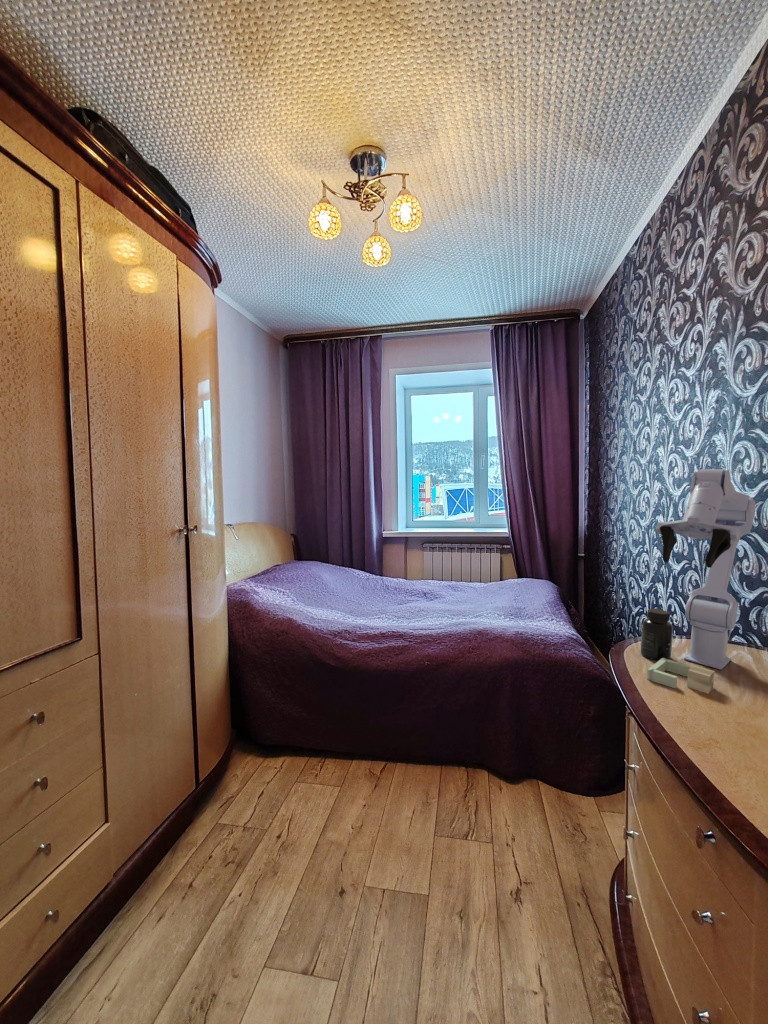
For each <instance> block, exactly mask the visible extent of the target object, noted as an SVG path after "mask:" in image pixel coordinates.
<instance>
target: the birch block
mask: <svg viewBox="0 0 768 1024" xmlns="http://www.w3.org/2000/svg"><path fill="white" fill-rule="evenodd" d="M715 674H716V673H715V670H711V669H709V668H705V667H701V666H698V665H696V664H695V665H694V664H693V665H692V666H691V667H689V670H688V676H687V679H686V681H687V682H686V687H687V688H689V689H692V690H695V691H698V692H701V693H704V694H708V695H709V693H711V691H712V690H713V689H714V683H715Z"/></svg>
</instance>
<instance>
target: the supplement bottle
mask: <svg viewBox="0 0 768 1024" xmlns="http://www.w3.org/2000/svg"><path fill="white" fill-rule="evenodd" d="M646 617H647V618H645V619H644V620H643V622H642V623H641V624H642V625H641V627H642V628H641V637H640V638H641V639H640V655H642V657H645V658H647V659H650V660H653V661H657V662H658V661H659V660H660V659H662V658H666V659H669V660H671V658H672V645H673V634H674V627H673V625H672V623H670V622H669V621H670V620H671V619H670V612H669V611H666V610H663V609H660V608H659V609H658V608H649V609H647V614H646Z"/></svg>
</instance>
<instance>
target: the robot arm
mask: <svg viewBox="0 0 768 1024" xmlns="http://www.w3.org/2000/svg"><path fill="white" fill-rule="evenodd" d="M731 478H732V477H731V471H730V469H728V470H727V469H723V468H721V469H720V468H719V469H716V468H715V469H713V468H712V469H709V468H704V469H702V468H701V469H698V470H697V471H696V470H695V471H694V472H693V473H692V478H691V486H690V490H689V493H690V496H689V500H688V503H687V505H686V509H685V512H684V515H683V517H682V519H680V520H678V519H677V520H672V521H665V522H659V521H658V522H657V525H656V526H655V530H656V533H657V535H660V536H661V541H662V560H663V561H664V563H668V562H669V561H670V559H671V555H672V551H673V549H674V547H675V545H676V544H677V542H678V541H677V538H676V535H680V536H683V537H687V538H691V539H697V540H708V539H710V545H709V547H708V550H707V553H706V557H705V565H706V568H708V572H707V576H706V580H705V584H704V586H702V587H698V588H696V589H693V590H692V591H691V593H690V594H689V598H688V599H687V601H686V605H685V611H684V615H685V618H686V620H687V621H688V622H689V623H690V626H691V635H690V648H689V652H688V653H687V654H686V655H684V657H683V660H685V661H689V662H692V663H695V664H700V665H703V666H706V667H710V668H714V669H717V670H723V669H724V668H725V667H726V666H727V664H728V663H729V662H730V661H731V660H732V659H731V657H729V656H727V653H728V652H727V651H728V643H729V642H728V639H729V633H728V631H731V630H733V629H735V626H736V622H737V618H738V617H737V615H738V607H739V606H738V601H737V599H736V598H735V597H734V596H733V595H732V594H731V593H729V592H728V588H729V587H728V586H729V583H730V577H731V573H732V569H733V565H734V559H735V555H736V551H737V546H738V544H739V541H740V540H741V538H742V537H743V536H746V535H748V534H750V532H751V530H752V529H753V523H754V519H755V514H756V500H755V499H754V498H751V497H750V495H749V494H746V493H742V492H738V491H736V490H735V487H734V484H733V483H732V482H731V480H732V479H731Z"/></svg>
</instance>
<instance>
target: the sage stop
mask: <svg viewBox="0 0 768 1024" xmlns="http://www.w3.org/2000/svg"><path fill="white" fill-rule="evenodd" d="M689 669H690V664H685V663H682V662H679V661H677V660H672V659H666V658H662V659H660V660H659V661H658V660H657V662H655V663H654V664H652V665H651V666H650V667H649V668H647V674H646V679H647V680H648V681H651V682H654V683H656V684H660V685H664V686H666V687H669V688H673V689H676V688H677V683H678V676H677V675H681V676H682V677H683V676H684V677H688V670H689ZM665 671H668V672H671V673H674V674H670V673H668V672H665ZM675 674H677V675H675Z"/></svg>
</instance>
